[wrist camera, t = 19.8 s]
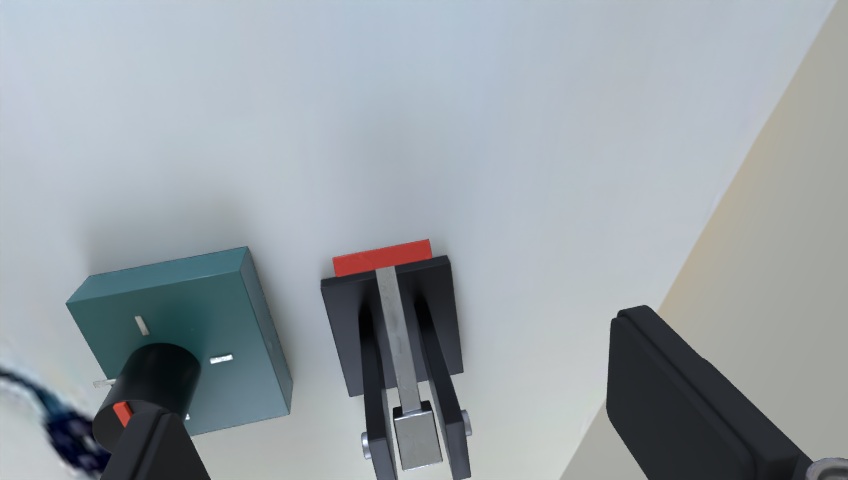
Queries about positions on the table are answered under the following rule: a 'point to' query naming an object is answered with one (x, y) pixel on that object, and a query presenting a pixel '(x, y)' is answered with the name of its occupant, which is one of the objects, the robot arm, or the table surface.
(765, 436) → the robot arm
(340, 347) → the black upright frame
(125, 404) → the knob
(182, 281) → the dial panel
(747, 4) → the table surface
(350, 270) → the toaster lever
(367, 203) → the table surface
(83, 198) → the table surface
